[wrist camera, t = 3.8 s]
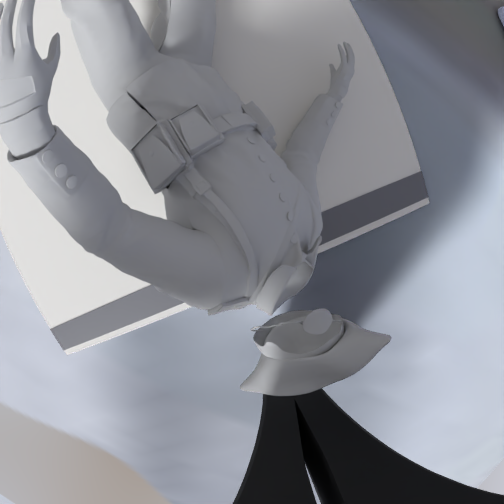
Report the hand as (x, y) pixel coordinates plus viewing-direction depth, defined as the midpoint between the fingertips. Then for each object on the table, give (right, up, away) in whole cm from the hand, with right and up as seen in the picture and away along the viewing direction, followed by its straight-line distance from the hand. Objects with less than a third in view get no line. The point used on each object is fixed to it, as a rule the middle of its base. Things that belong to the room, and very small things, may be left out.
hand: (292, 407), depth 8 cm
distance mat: (-5, +12, -2) cm, 14 cm away
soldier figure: (-3, +8, -1) cm, 9 cm away
